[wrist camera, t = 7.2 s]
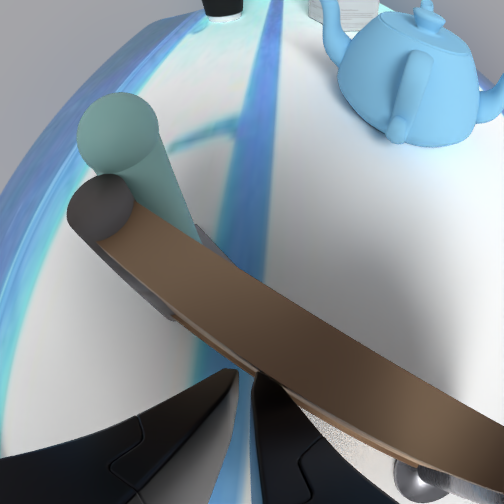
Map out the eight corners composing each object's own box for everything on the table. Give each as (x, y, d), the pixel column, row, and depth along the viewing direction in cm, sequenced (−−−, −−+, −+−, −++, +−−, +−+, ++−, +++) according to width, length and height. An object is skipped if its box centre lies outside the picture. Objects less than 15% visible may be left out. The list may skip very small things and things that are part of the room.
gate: (425, 433, 11) (553, 438, 4) (404, 467, 11) (522, 506, 3) (176, 277, 16) (102, 165, 8) (152, 306, 15) (56, 212, 8)
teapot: (376, 180, 20) (420, 49, 10) (297, 71, 26) (299, -22, 17) (495, 157, 21) (542, 75, 11) (411, 66, 27) (428, -7, 18)
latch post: (183, 318, 16) (58, 178, 6) (144, 267, 17) (34, 119, 7) (240, 272, 17) (198, 87, 7) (197, 227, 18) (135, 55, 8)
